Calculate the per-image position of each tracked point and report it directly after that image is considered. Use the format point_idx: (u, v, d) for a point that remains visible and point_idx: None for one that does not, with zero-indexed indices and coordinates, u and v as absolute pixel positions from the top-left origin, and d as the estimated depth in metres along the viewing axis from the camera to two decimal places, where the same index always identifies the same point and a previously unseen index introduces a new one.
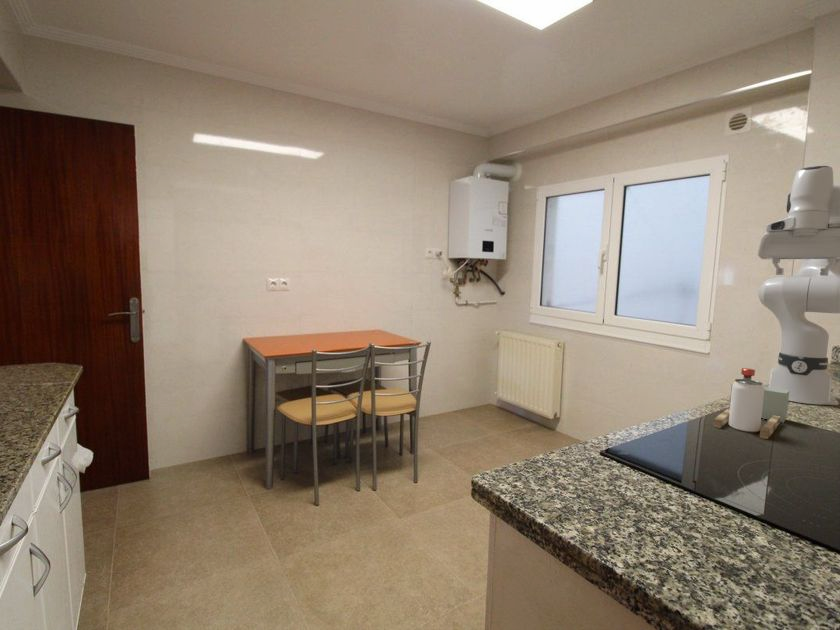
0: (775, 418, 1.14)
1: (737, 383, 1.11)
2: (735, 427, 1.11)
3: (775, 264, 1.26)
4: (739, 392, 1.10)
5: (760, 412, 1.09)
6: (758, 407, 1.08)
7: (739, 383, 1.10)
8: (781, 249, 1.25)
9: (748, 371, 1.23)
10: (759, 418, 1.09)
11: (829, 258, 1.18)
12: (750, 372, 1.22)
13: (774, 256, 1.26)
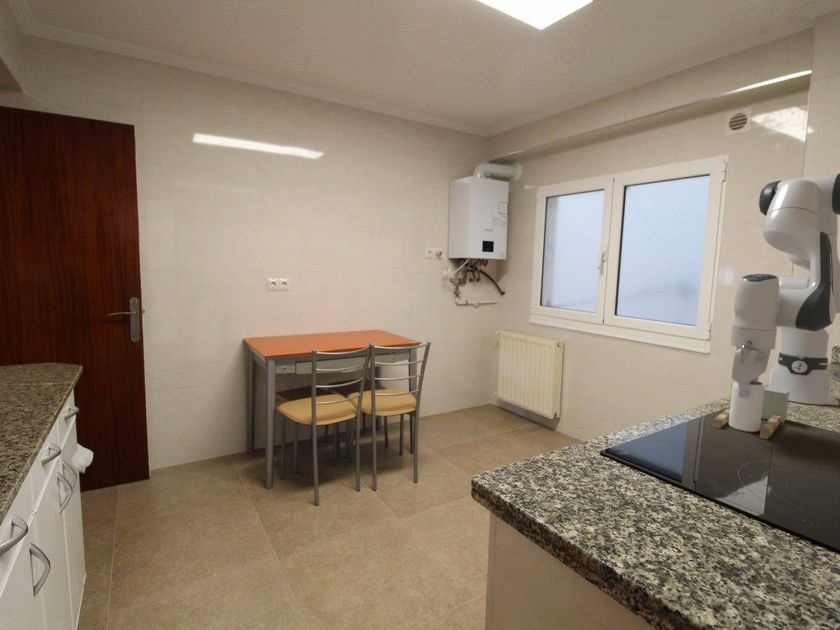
0: (775, 418, 1.14)
1: (737, 383, 1.11)
2: (735, 427, 1.11)
3: None
4: None
5: (760, 412, 1.09)
6: (758, 407, 1.08)
7: None
8: None
9: None
10: (759, 418, 1.09)
11: None
12: None
13: None
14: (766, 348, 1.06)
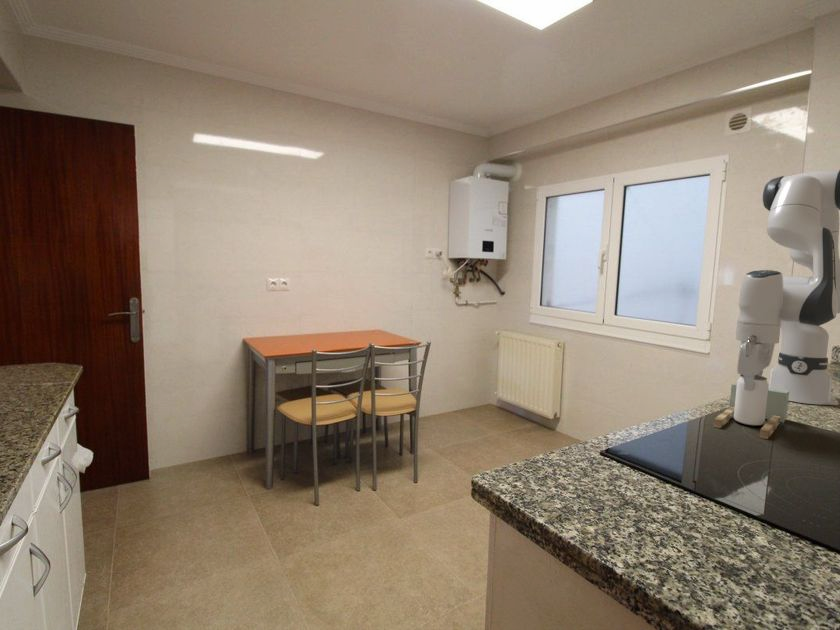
0: (775, 418, 1.14)
1: (742, 378, 1.14)
2: (740, 421, 1.14)
3: None
4: None
5: (764, 406, 1.12)
6: (762, 402, 1.12)
7: None
8: None
9: None
10: (764, 412, 1.12)
11: None
12: None
13: None
14: (770, 342, 1.09)
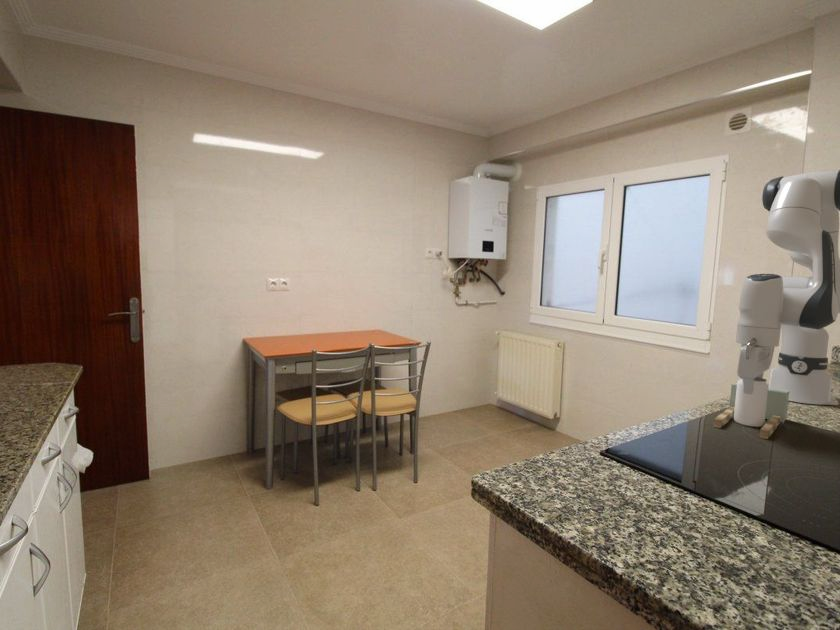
0: (775, 418, 1.14)
1: (742, 380, 1.15)
2: (740, 422, 1.15)
3: None
4: (743, 388, 1.14)
5: (764, 407, 1.13)
6: (762, 403, 1.12)
7: None
8: None
9: None
10: (764, 413, 1.13)
11: None
12: None
13: None
14: (770, 345, 1.09)
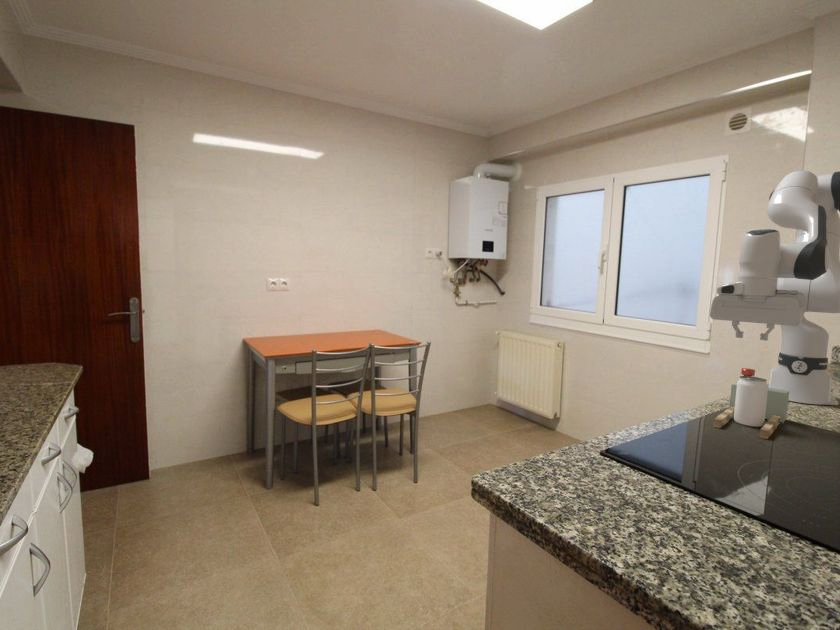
0: (775, 418, 1.14)
1: (742, 380, 1.15)
2: (740, 422, 1.15)
3: (734, 327, 1.25)
4: (743, 388, 1.14)
5: (764, 407, 1.13)
6: (762, 403, 1.12)
7: (744, 380, 1.14)
8: (731, 313, 1.25)
9: (748, 371, 1.23)
10: (764, 413, 1.13)
11: (768, 324, 1.19)
12: (750, 372, 1.22)
13: (725, 319, 1.26)
14: None
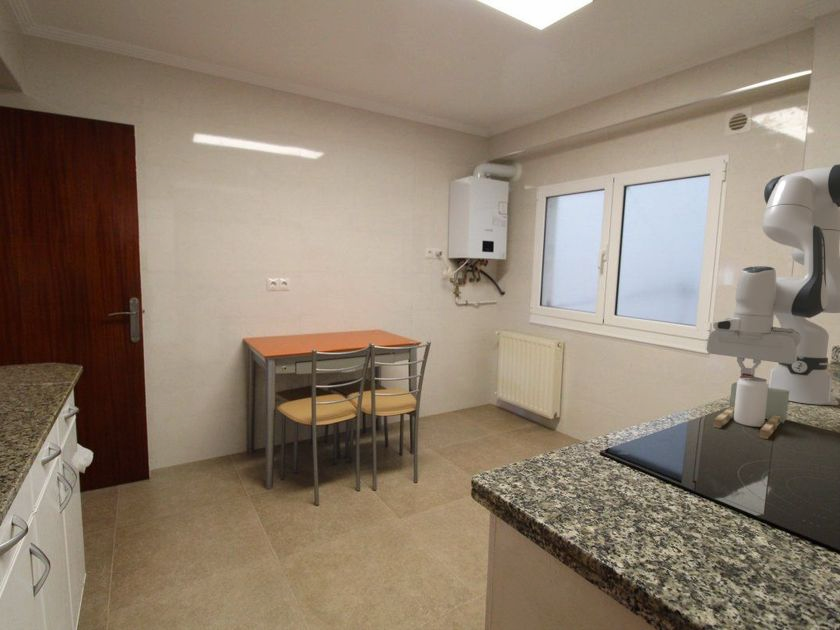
0: (775, 418, 1.14)
1: (742, 380, 1.15)
2: (740, 422, 1.15)
3: (740, 363, 1.24)
4: (743, 388, 1.14)
5: (764, 407, 1.13)
6: (762, 403, 1.12)
7: (744, 380, 1.14)
8: (728, 348, 1.25)
9: None
10: (764, 413, 1.13)
11: (754, 360, 1.22)
12: None
13: (721, 354, 1.27)
14: None
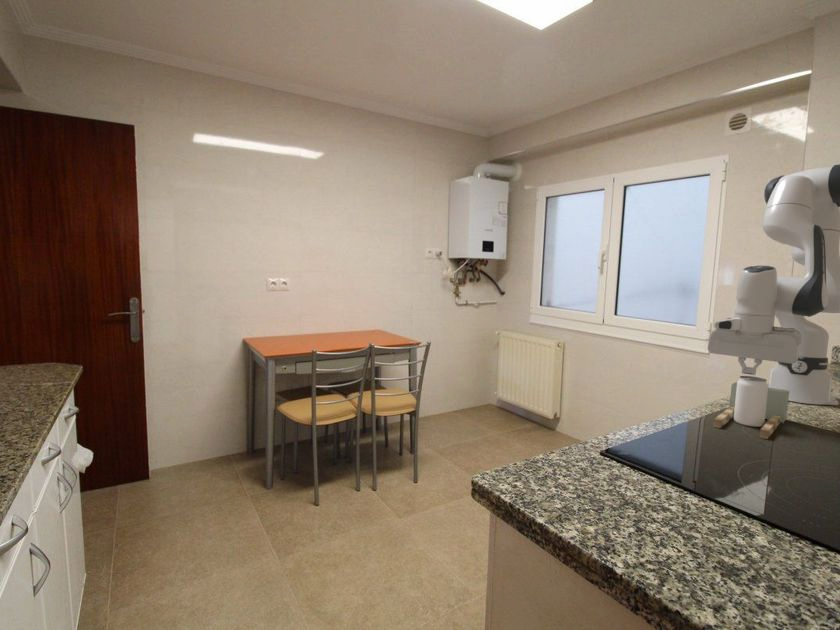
0: (775, 418, 1.14)
1: (742, 380, 1.15)
2: (740, 422, 1.15)
3: (741, 363, 1.24)
4: (743, 388, 1.14)
5: (764, 407, 1.13)
6: (762, 403, 1.12)
7: (744, 380, 1.14)
8: (729, 348, 1.26)
9: None
10: (764, 413, 1.13)
11: (756, 359, 1.22)
12: None
13: (723, 354, 1.27)
14: None
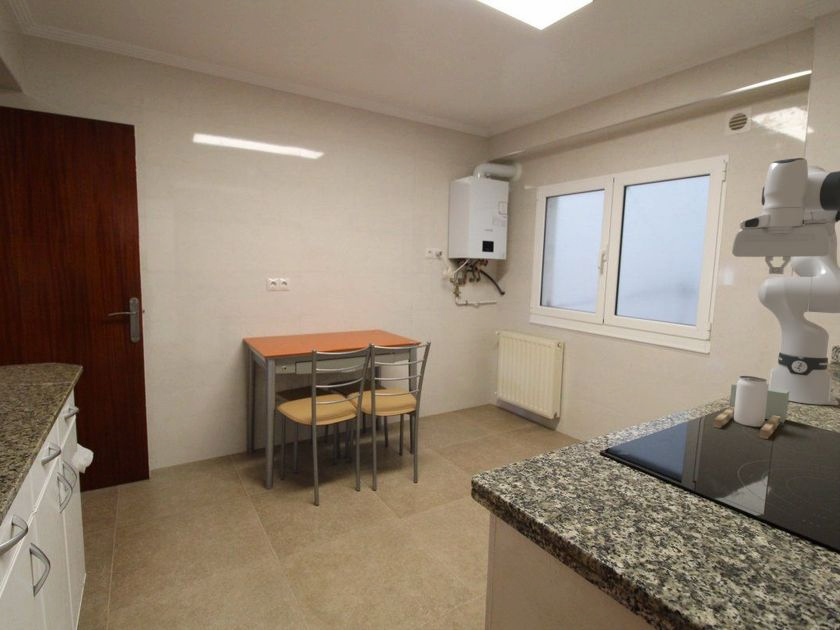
0: (775, 418, 1.14)
1: (742, 380, 1.15)
2: (740, 422, 1.15)
3: (768, 263, 1.19)
4: (743, 388, 1.14)
5: (764, 407, 1.13)
6: (762, 403, 1.12)
7: (744, 380, 1.14)
8: (755, 248, 1.20)
9: None
10: (764, 413, 1.13)
11: (784, 257, 1.16)
12: None
13: (748, 255, 1.21)
14: None
